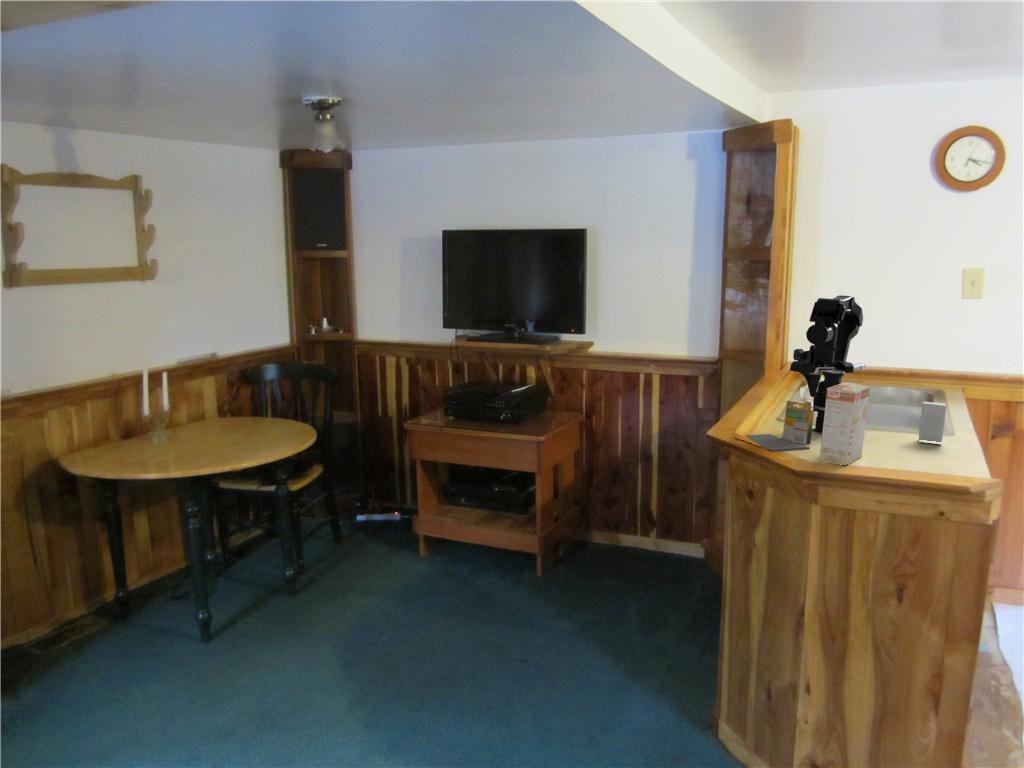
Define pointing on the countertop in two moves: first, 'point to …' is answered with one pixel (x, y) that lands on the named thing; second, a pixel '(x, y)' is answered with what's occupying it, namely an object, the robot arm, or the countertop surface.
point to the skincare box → (932, 421)
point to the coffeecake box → (844, 423)
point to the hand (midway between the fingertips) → (818, 396)
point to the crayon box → (798, 423)
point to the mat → (775, 443)
